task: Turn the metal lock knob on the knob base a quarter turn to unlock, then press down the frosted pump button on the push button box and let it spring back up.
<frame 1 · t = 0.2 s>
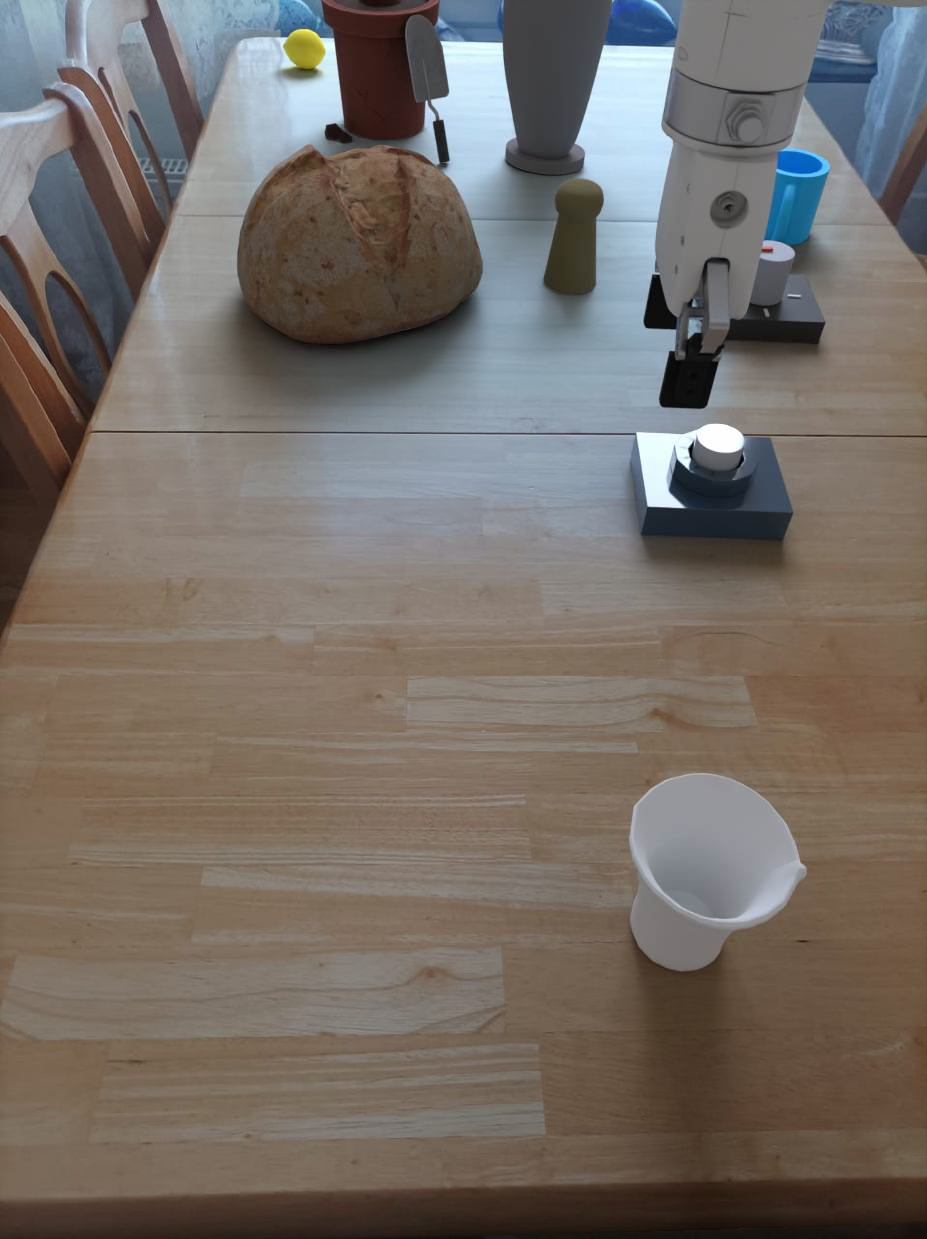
hand: (672, 364, 66), 17 cm above the table, tool pointing down, fingers open, 9 cm apart
cup: (678, 924, 56), on the table
game pawn: (569, 282, 107), on the table
bread: (363, 297, 103), on the table
lemon: (306, 69, 149), on the table
push button box: (703, 499, 82), on the table
mug: (774, 238, 116), on the table
vase: (543, 163, 128), on the table
pump button: (718, 447, 78), point 6 cm above the table, slide at 0.1 cm
potted plant: (387, 133, 133), on the table
lock knob: (766, 271, 99), point 5 cm above the table, hinge at 0.0°
knob base: (753, 316, 103), on the table
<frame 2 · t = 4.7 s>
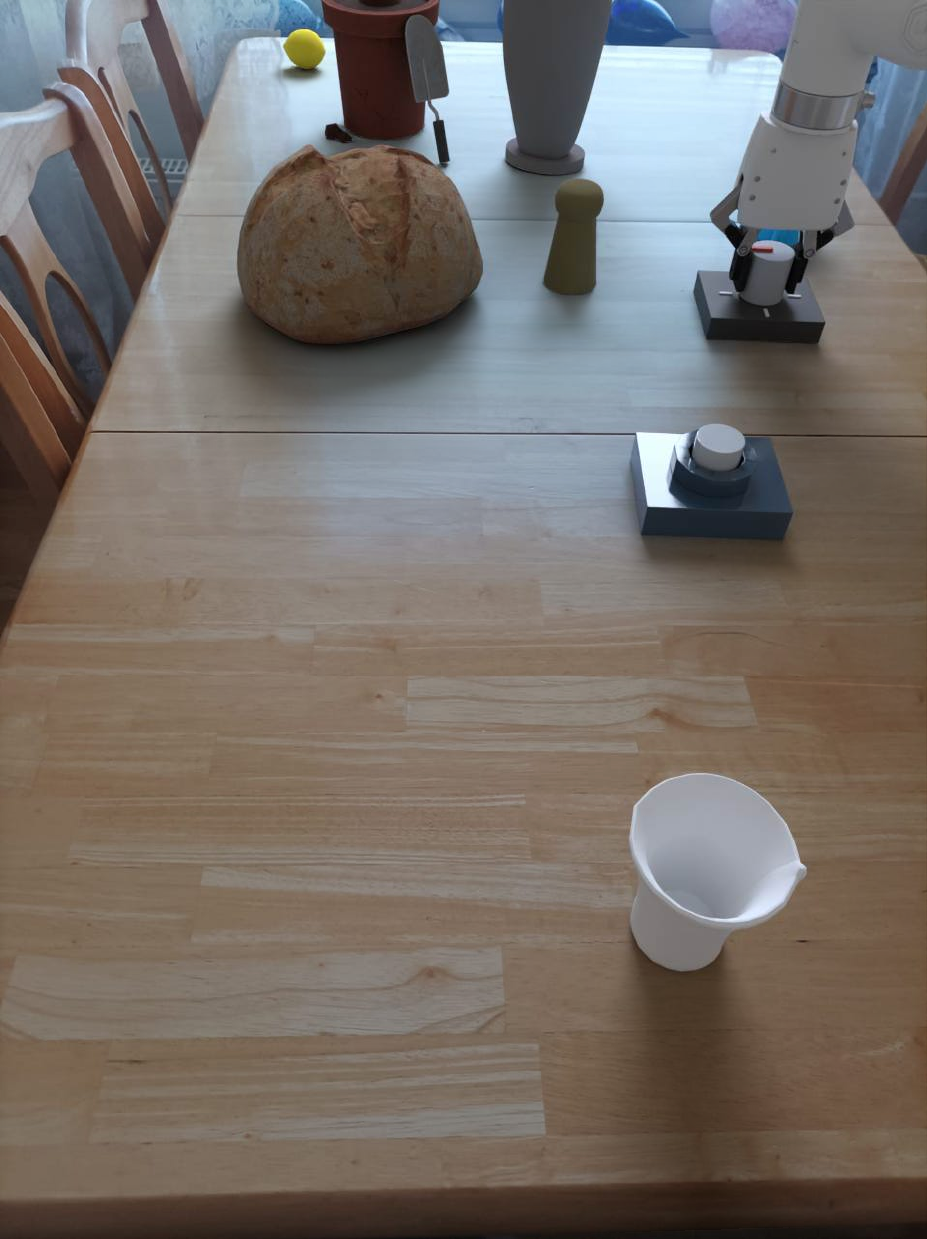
hand: (762, 285, 100), 4 cm above the table, tool pointing down, fingers closed on lock knob, 4 cm apart
lock knob: (766, 271, 99), point 5 cm above the table, hinge at 0.2°, touching gripper
everything else where it was.
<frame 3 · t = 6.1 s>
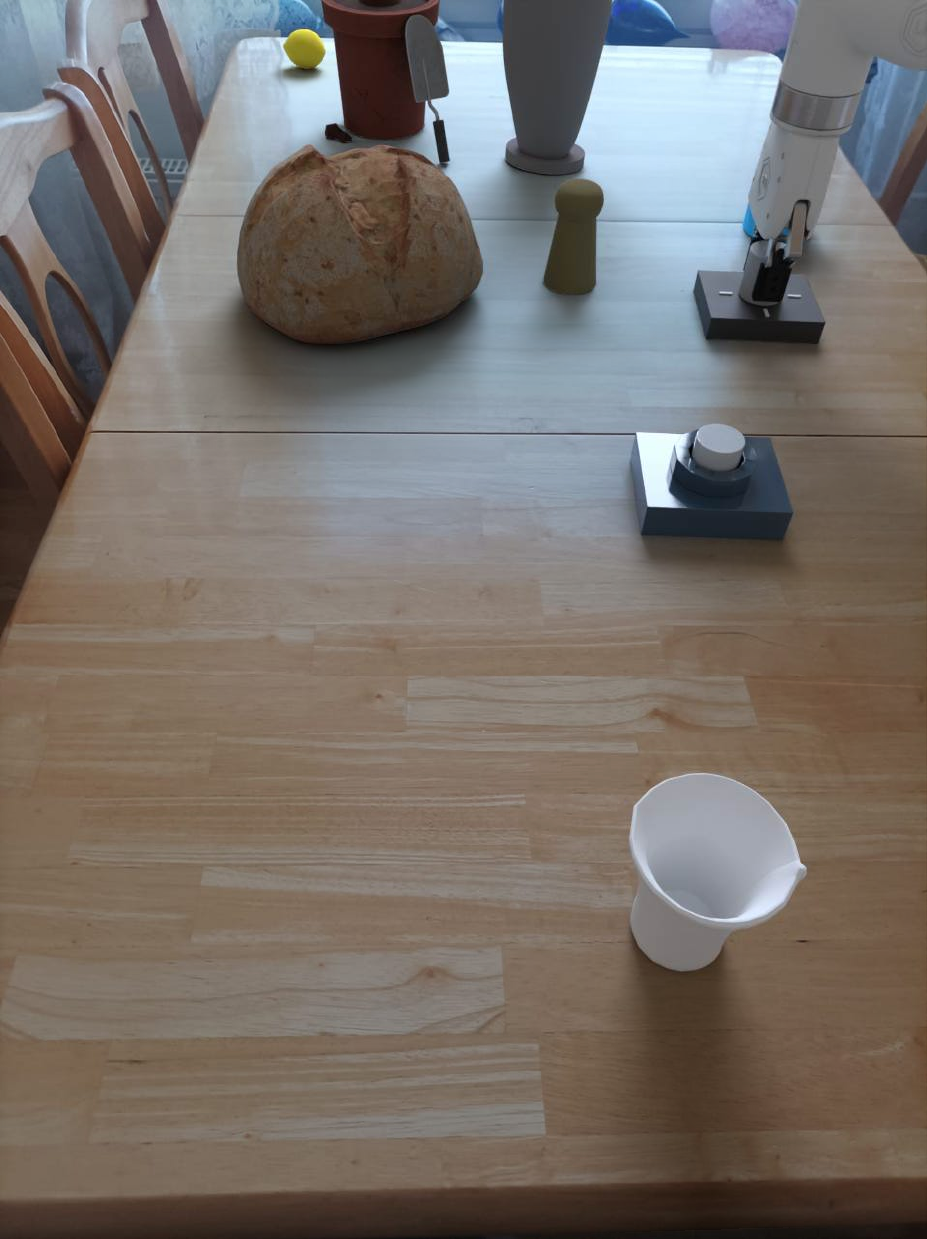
hand: (762, 285, 100), 4 cm above the table, tool pointing down, fingers closed on lock knob, 4 cm apart
lock knob: (766, 271, 99), point 5 cm above the table, hinge at 90.0°, touching gripper
everything else where it was.
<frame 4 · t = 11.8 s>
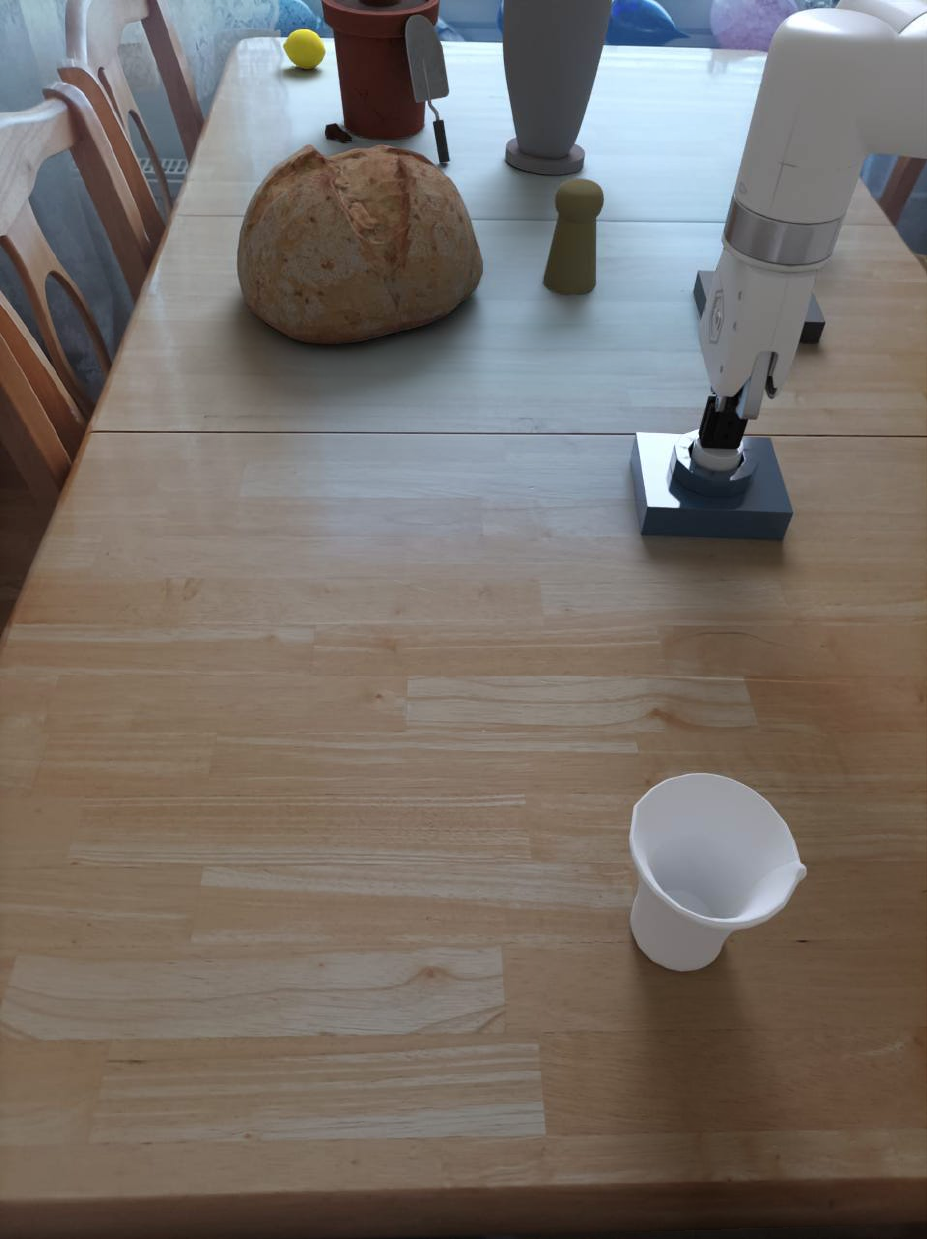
hand: (718, 442, 77), 6 cm above the table, tool pointing down, fingers closed
pump button: (716, 452, 78), point 5 cm above the table, slide at -0.4 cm, touching gripper
lock knob: (766, 271, 99), point 5 cm above the table, hinge at 88.8°
everything else where it was.
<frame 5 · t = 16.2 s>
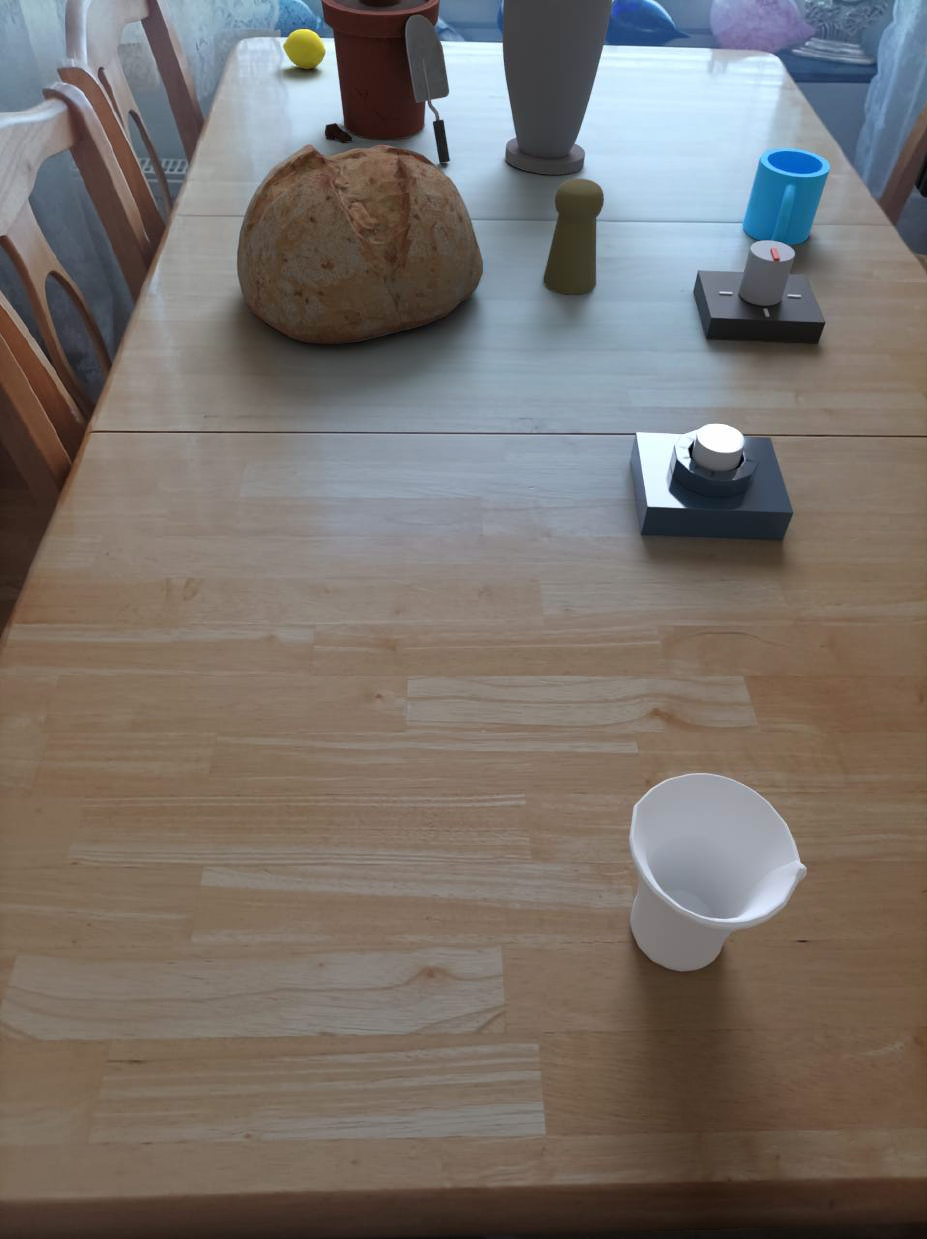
pump button: (718, 447, 78), point 6 cm above the table, slide at 0.1 cm
everything else where it was.
at the end: lock knob at +89° (first picture: +0°); pump button pushed in 1.1 cm at the most during the clip, back to where it started at the end; pump button slide at 0.1 cm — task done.
